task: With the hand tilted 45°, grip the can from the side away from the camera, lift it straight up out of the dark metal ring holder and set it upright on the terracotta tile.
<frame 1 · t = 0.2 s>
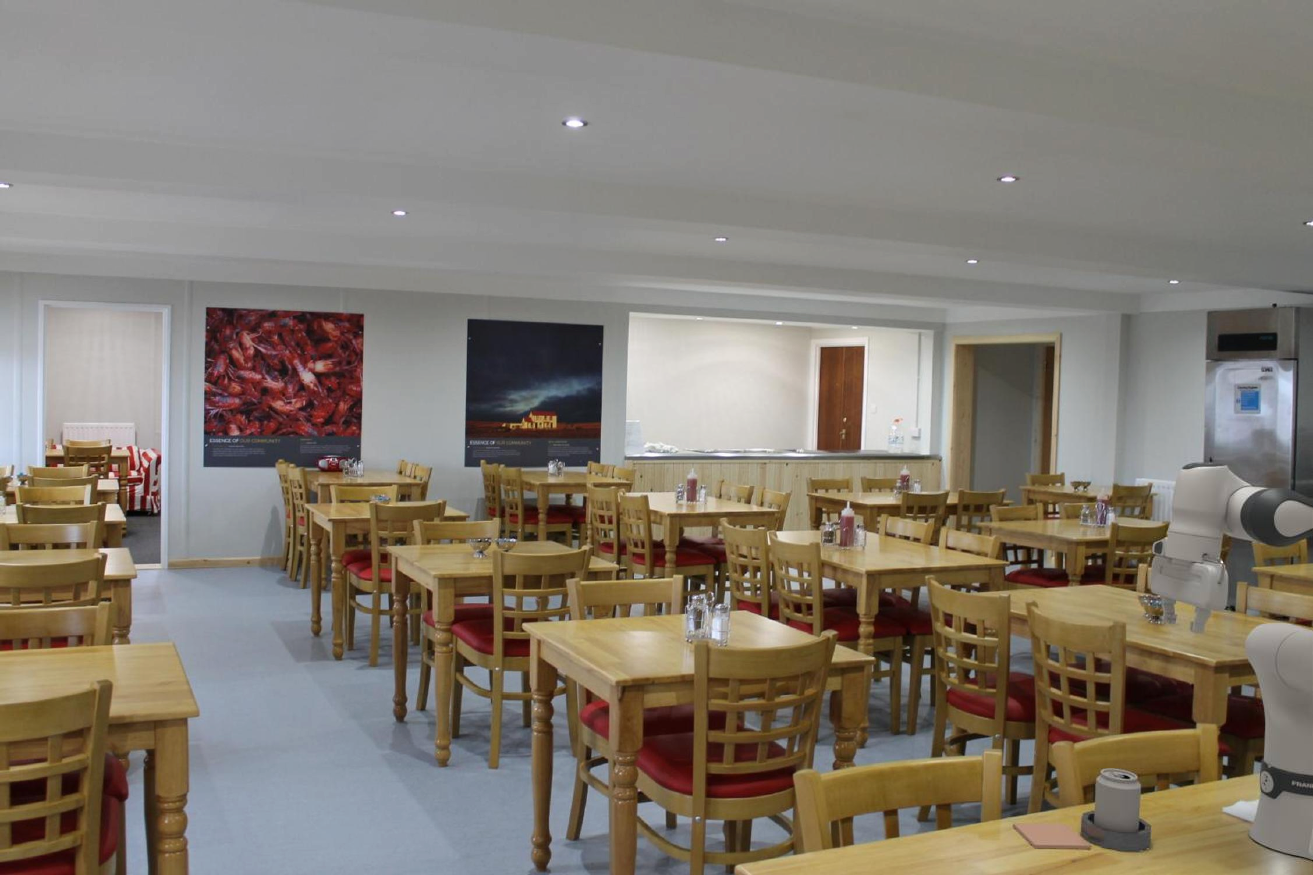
hand: (1182, 627, 202), 39 cm above the table, tool pointing down, fingers open, 8 cm apart
ring holder: (1115, 838, 203), on the table
can: (1115, 839, 203), resting in ring holder
tile: (1050, 837, 203), on the table
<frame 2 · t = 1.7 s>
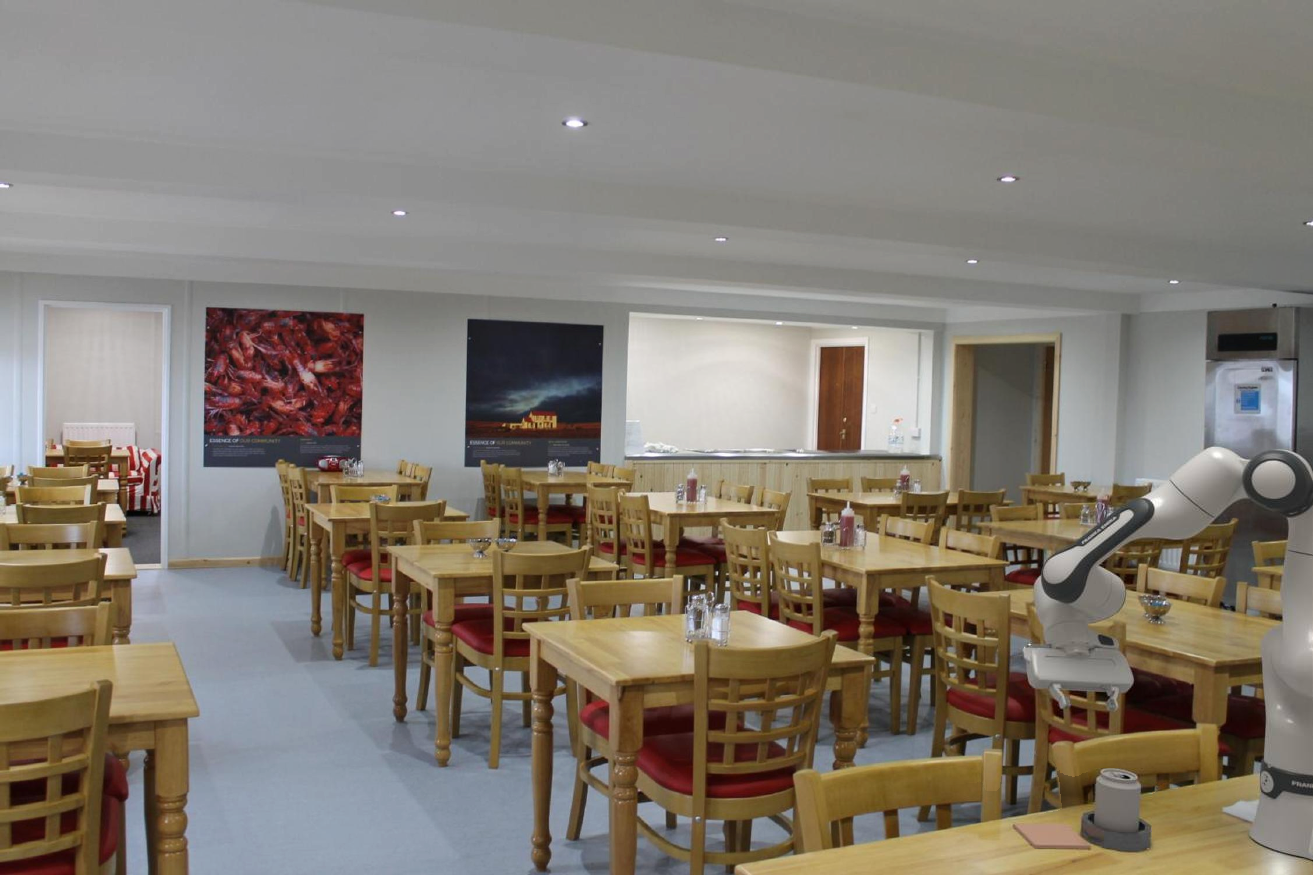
hand: (1089, 708, 215), 20 cm above the table, tool tilted 45°, fingers open, 8 cm apart
nothing on the table moved.
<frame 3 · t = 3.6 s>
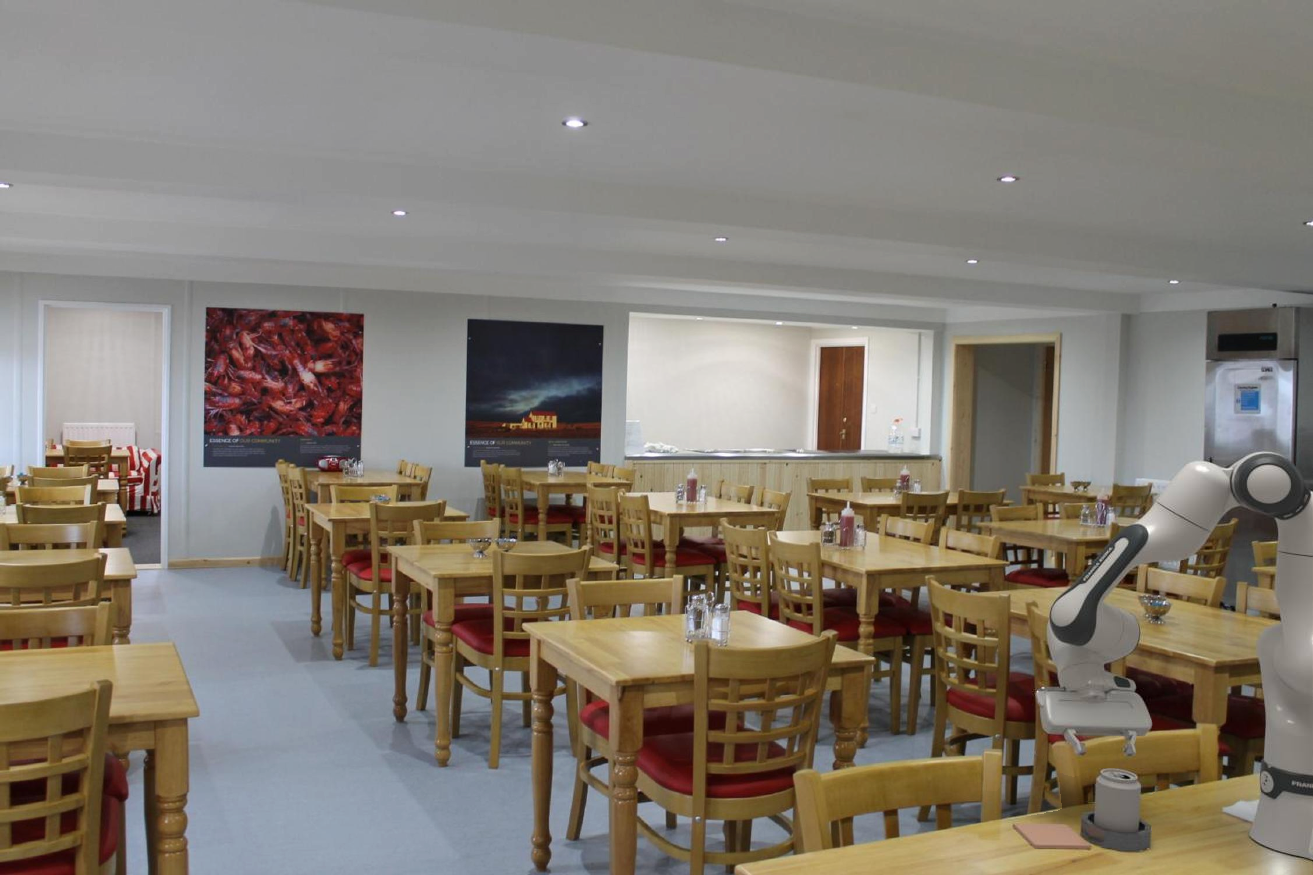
hand: (1106, 754, 208), 14 cm above the table, tool tilted 45°, fingers open, 8 cm apart
nothing on the table moved.
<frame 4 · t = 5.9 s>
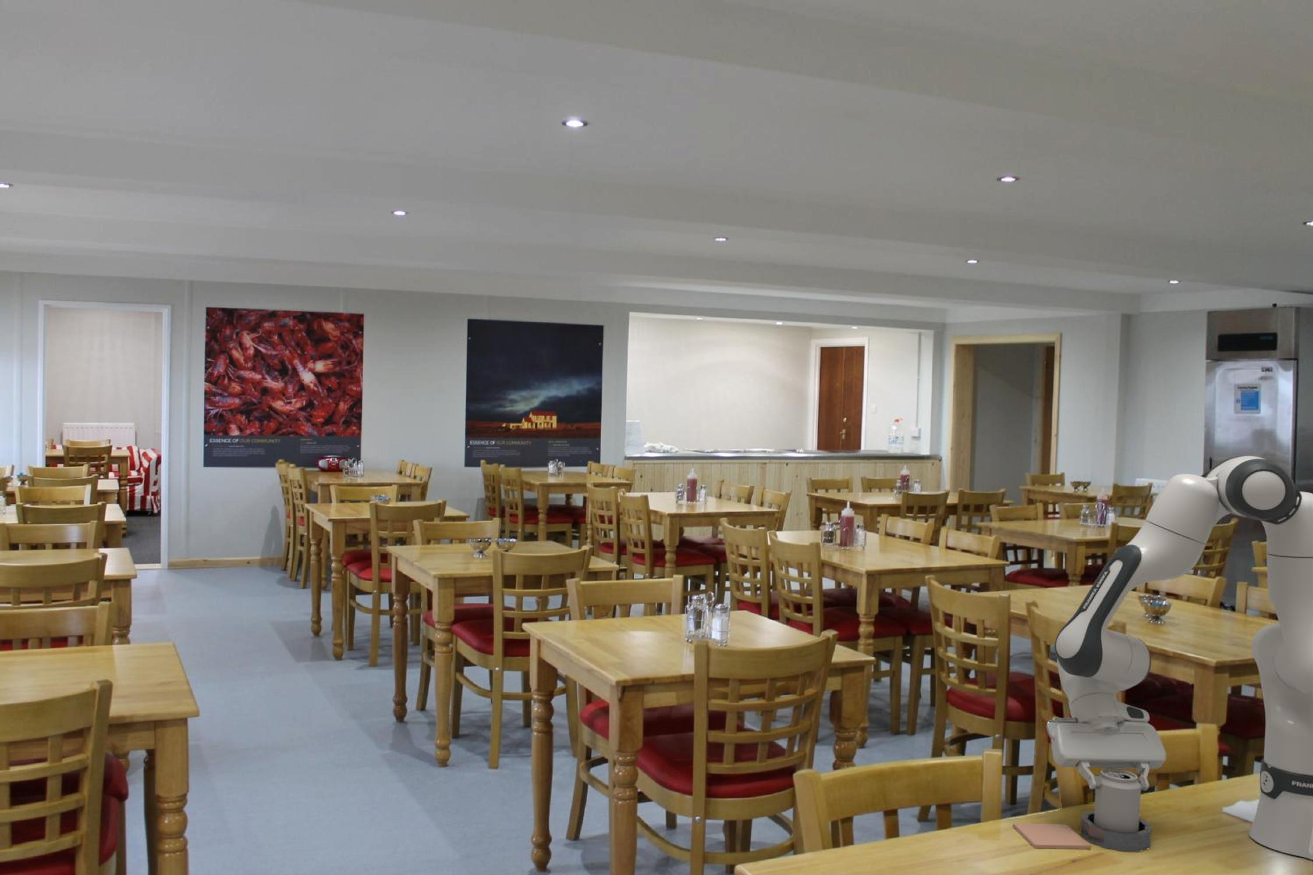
hand: (1119, 788, 203), 9 cm above the table, tool tilted 45°, fingers closed on can, 7 cm apart
can: (1115, 839, 203), resting in ring holder, touching gripper
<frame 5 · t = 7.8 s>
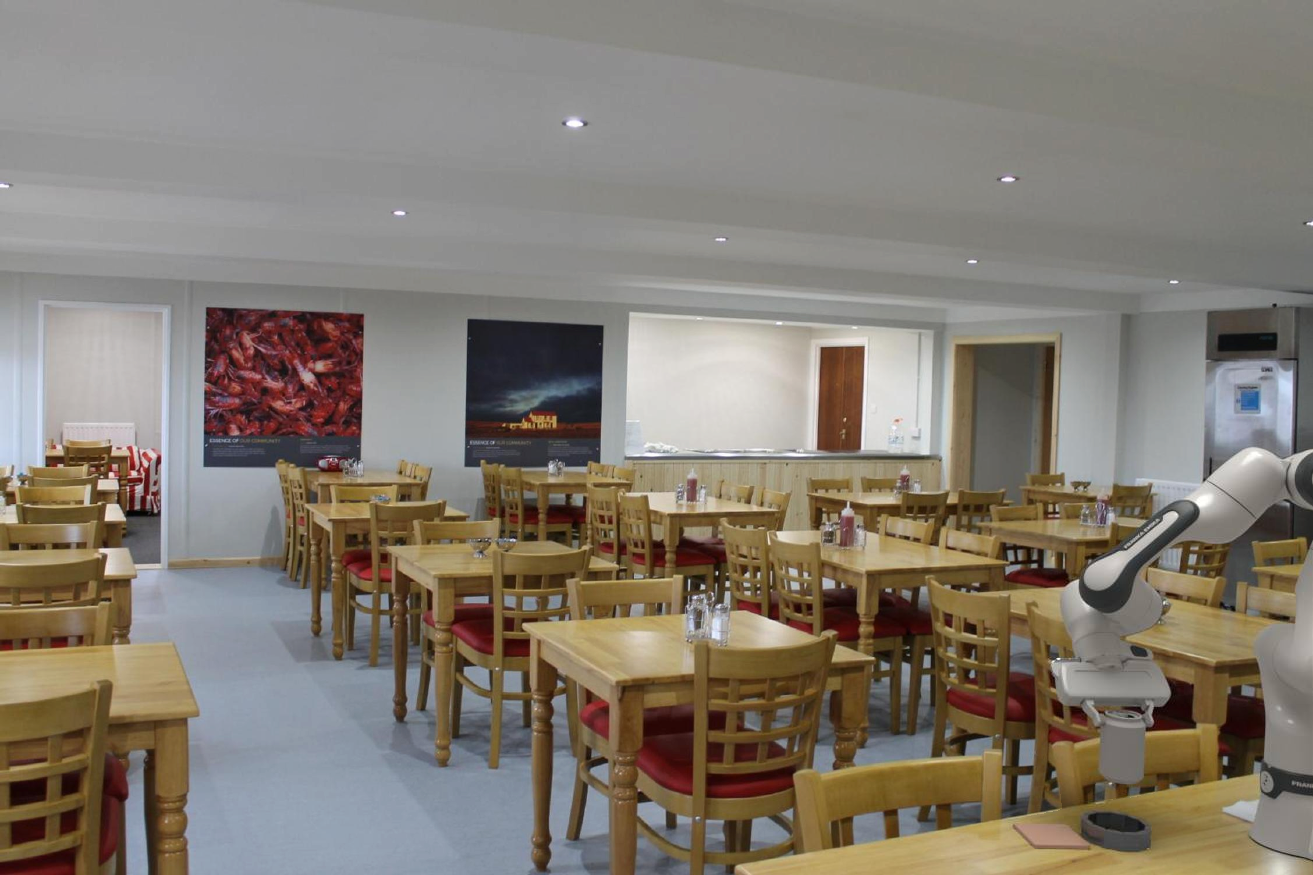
hand: (1124, 725, 202), 21 cm above the table, tool tilted 45°, fingers closed on can, 7 cm apart
can: (1120, 779, 203), point 11 cm above the table, touching gripper
when the fingers open (14 cm above the table, at t = 10.2 s): can drops 2 cm, resting on tile.
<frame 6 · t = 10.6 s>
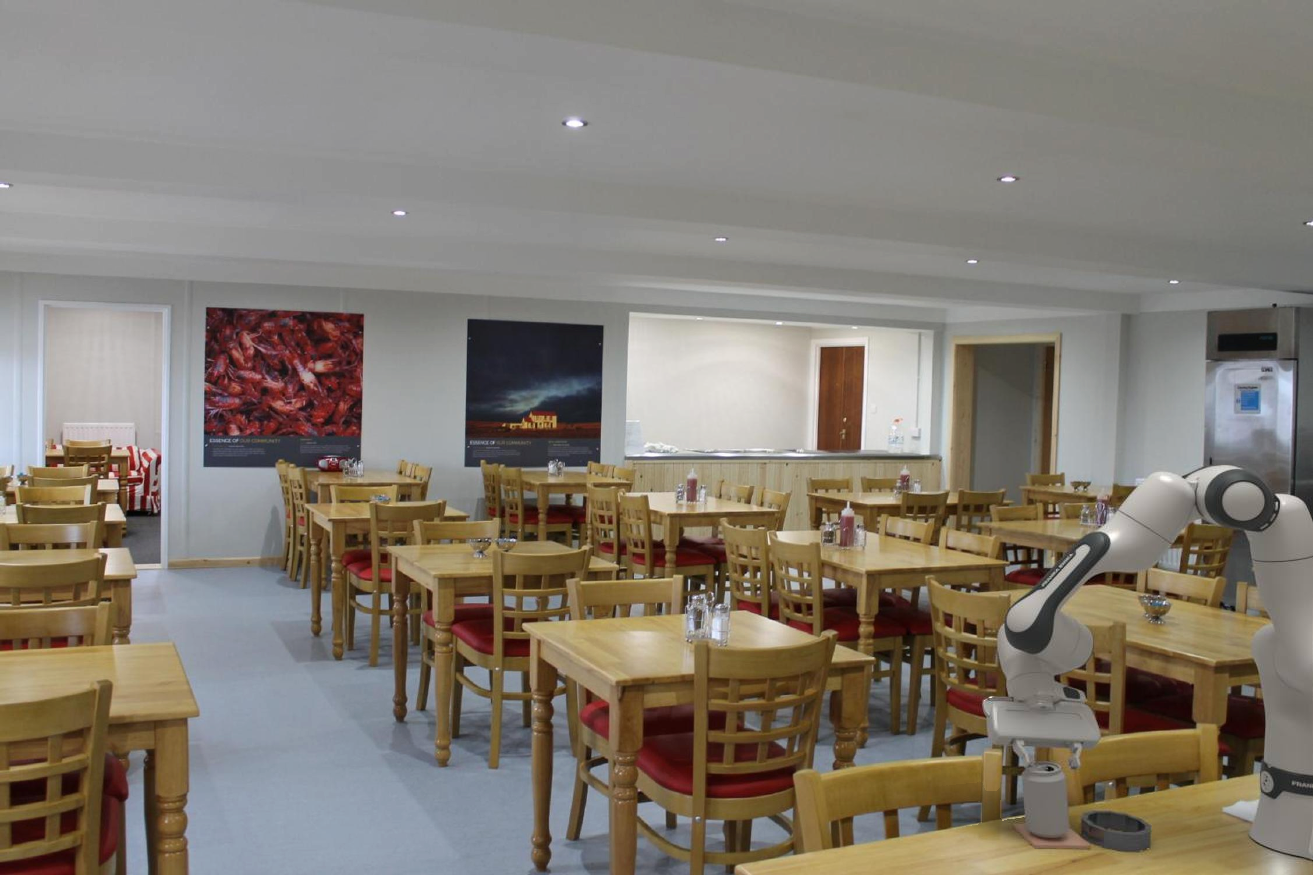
hand: (1052, 766, 201), 13 cm above the table, tool tilted 45°, fingers open, 7 cm apart
can: (1048, 832, 202), point 1 cm above the table, touching gripper, tile
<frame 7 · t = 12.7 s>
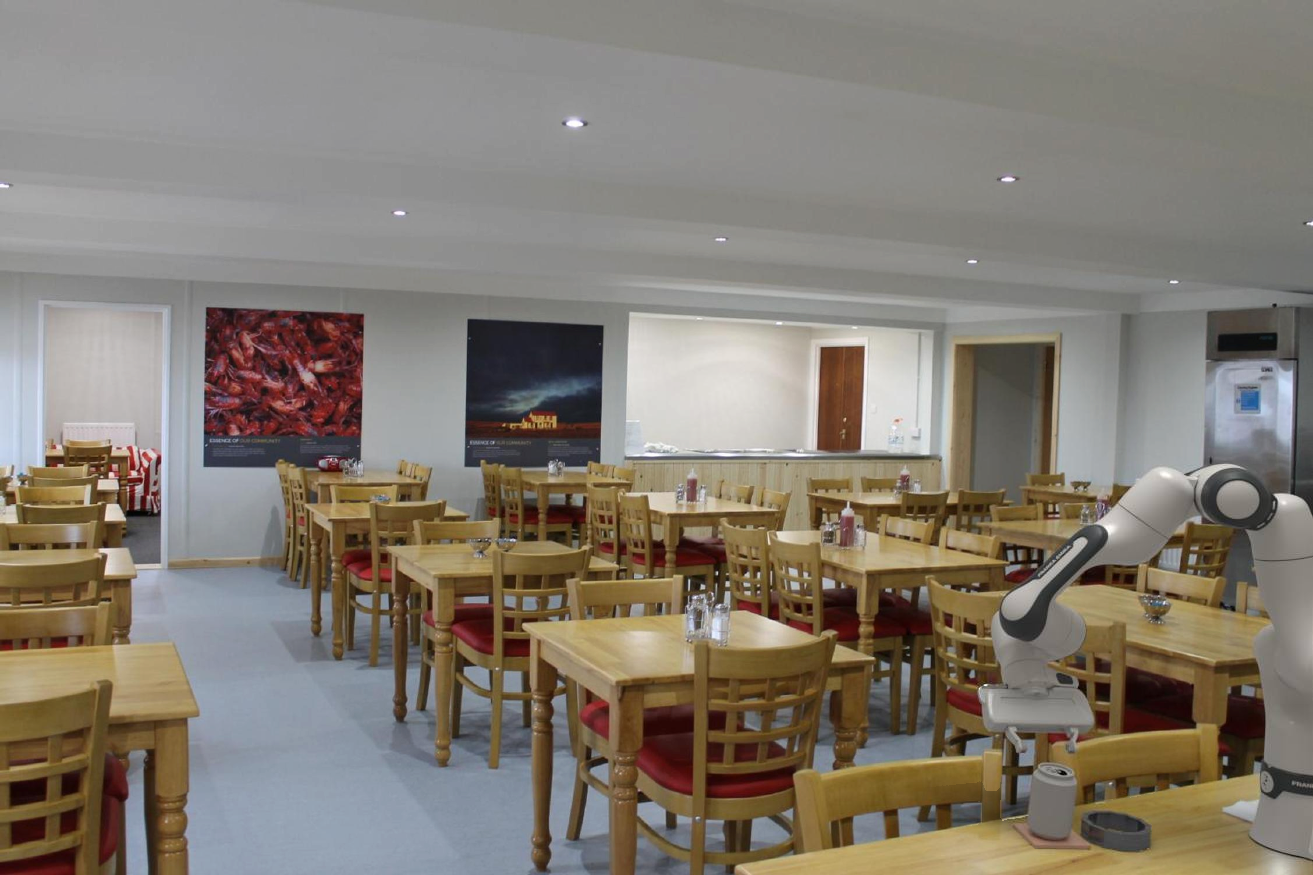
hand: (1047, 751, 205), 14 cm above the table, tool tilted 45°, fingers open, 8 cm apart
can: (1048, 833, 202), point 1 cm above the table, touching tile
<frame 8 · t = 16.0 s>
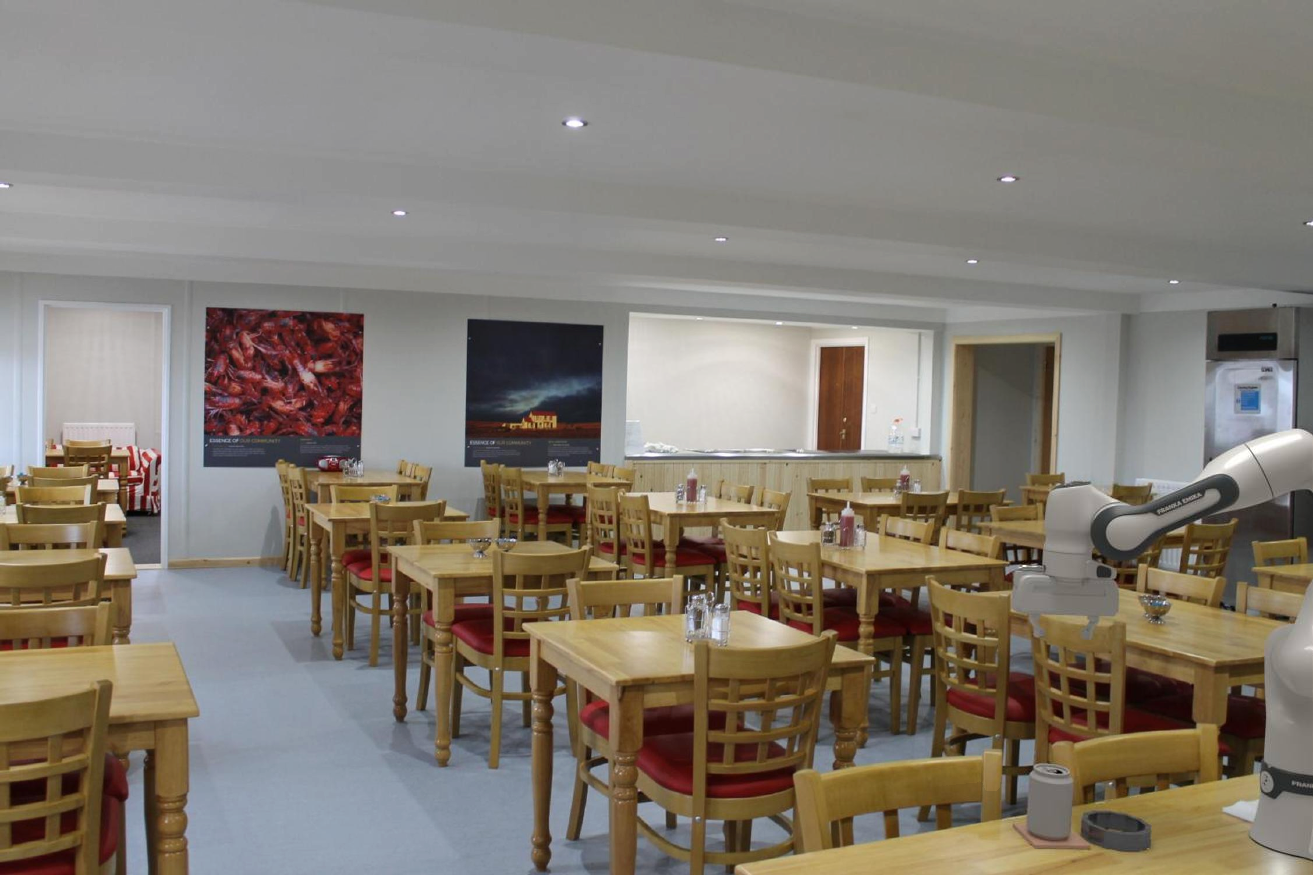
hand: (1062, 637, 217), 33 cm above the table, tool pointing down, fingers open, 8 cm apart
at the end: can 0.5 cm off-centre on the tile, point 0.4 cm above the tile's base; can tilted 0°; the gripper is holding nothing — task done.
